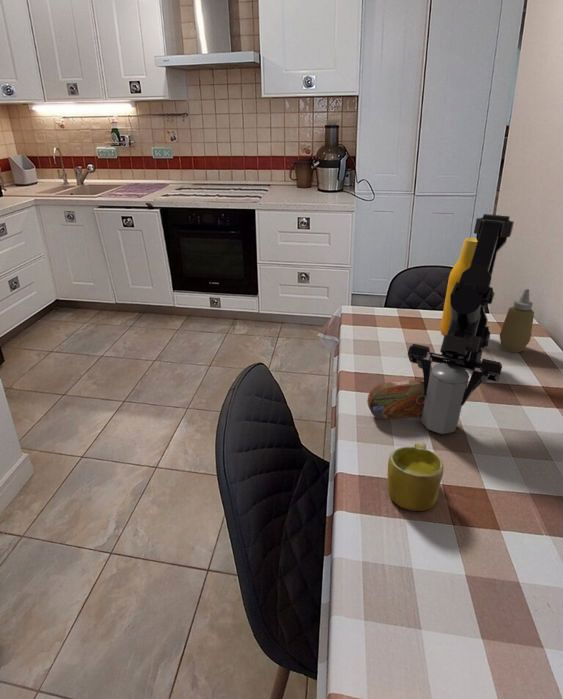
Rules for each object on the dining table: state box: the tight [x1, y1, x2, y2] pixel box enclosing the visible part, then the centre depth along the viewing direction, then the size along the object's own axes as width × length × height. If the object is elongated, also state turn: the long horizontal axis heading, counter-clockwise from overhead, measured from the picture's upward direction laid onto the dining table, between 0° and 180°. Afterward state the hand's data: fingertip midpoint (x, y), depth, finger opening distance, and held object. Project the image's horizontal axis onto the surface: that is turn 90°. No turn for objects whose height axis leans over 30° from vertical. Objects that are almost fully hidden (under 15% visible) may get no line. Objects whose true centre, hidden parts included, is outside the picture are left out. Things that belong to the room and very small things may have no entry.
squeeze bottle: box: [499, 288, 535, 353], centre depth 133 cm, size 8×8×18 cm
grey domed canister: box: [420, 363, 470, 435], centre depth 100 cm, size 7×7×13 cm
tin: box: [366, 379, 426, 421], centre depth 106 cm, size 15×3×8 cm, turn 99°
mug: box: [387, 440, 444, 512], centre depth 85 cm, size 12×10×10 cm
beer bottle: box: [439, 237, 477, 336], centre depth 139 cm, size 9×9×29 cm
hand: (443, 400), depth 99 cm, fingers closed on grey domed canister, 7 cm apart
